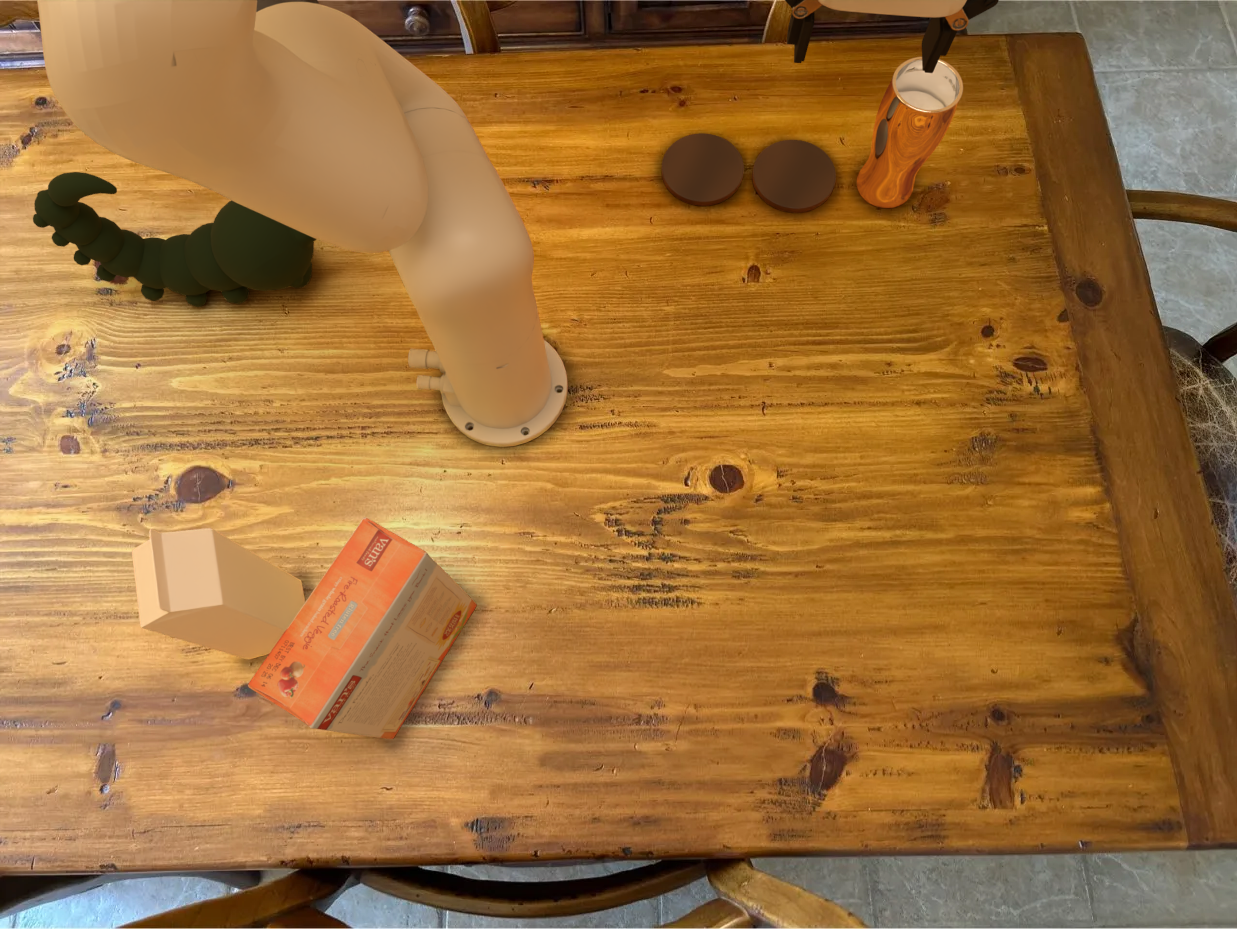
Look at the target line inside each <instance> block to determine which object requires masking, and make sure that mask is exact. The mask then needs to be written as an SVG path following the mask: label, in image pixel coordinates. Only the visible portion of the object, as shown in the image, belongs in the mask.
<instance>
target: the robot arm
mask: <svg viewBox="0 0 1237 929" xmlns="http://www.w3.org/2000/svg"><path fill="white" fill-rule="evenodd" d="M784 1H785V2H786V3H787V5H788V6H789V7H790V8H791V14H790V18H789V22H788V27H787V33H786V45H793V63H794V64H802V62H805V60H806V56H807V52H808V48H809V46H810V40H811V37H812V33H813V29H814V26H815V16H816V15H815V12H816V11H817V10H818V9H820V8H821V7H822V6H824V7H825V8H828V9H831V10H835V11H841V12H848V13H849V12H850V13H851V12H852V13H861V14H862V13H863V14H876V15H888V16H902V17H918V18H919V17H920V18H930V20H929V23H928V25H927V27H926V30H925V33H924V35H923V36H922V40H921V57H922V69H923V71H925V73H933V71H934V69H935V67H936V65H937V62H938V60H939V59H940V58H941V57H946V56H947V55H948V53H949V50H950V48H951V46H952V44H953V43H954V40H955V37H956V36H957V34H958V31H963V30H964V29H966V28H967V27H968V25H969V23H970V20H972V19H973V18H976V17H977V16H979V15H981V14H983V13H985V12H986V11H988V10H991V9H993V8H994V7H996V6H997V4H998V3H999V2H1000V0H784ZM36 2H37V9H38V16H39V25H40V26H39V27H40V36H41V44H42V54H43V61H44V67H45V73H46V77H47V80H48V83H49V86H50V89H51V91H52V93H53V95H54V97H55V99H56V100H57V102H58V104H59V106H60V107H61V108H62V110H63V111H64V112H65V115H66V116H67V117H68V118H69V120H70V121H71V122H72V123H73V124H74V125H75V126H76V127H77V128H78V129H79V130H80V132H82V133H83V134H84V135H85V136H87V137H88V138H89V139H91V141H92V142H94V143H96V144H98V145H99V146H100V147H102V148H104V149H105V150H107V151H109V152H111V153H112V154H115V155H117V156H118V157H121V158H123V159H124V160H125V159H126V160H128V161H130V162H132V163H134V164H138V165H141V166H144V167H146V168H150V169H154V170H156V171H160V172H162V173H165V174H169V175H171V176H175V177H178V178H180V179H182V180H185V181H188V182H191V183H194V184H196V185H198V186H200V187H203V188H205V189H208V190H209V191H212V192H215V193H217V194H218V195H220V196H222V197H224V198H226V199H228V200H229V201H231V200H232V201H234V202H236V203H238V204H240V205H242V206H245V207H247V208H249V209H251V210H253V211H256V212H258V213H260V214H262V215H264V216H267V217H269V218H271V219H273V220H275V221H278V222H280V223H282V224H284V225H286V226H289V227H291V228H293V229H295V230H297V231H300V232H302V233H304V234H306V235H308V236H311V237H313V238H315V239H316V241H320V242H322V243H325V244H328V245H331V246H333V247H336V248H339V249H341V250H345V251H349V252H354V253H361V254H376V253H385V252H388V253H389V255H390V258H391V260H392V263H393V265H394V266H395V269H396V271H397V273H398V275H399V278H400V280H401V282H402V284H403V287H404V289H405V291H406V293H407V295H408V297H409V300H410V301H411V303H412V305H413V307H414V309H415V310H416V313H417V315H418V317H419V319H420V321H421V324H422V326H423V328H424V330H425V332H426V334H427V337H428V338H429V340H430V342H431V344H432V346H433V348H434V350H431V349H425V348H424V349H423V348H414V347H413V348H410V349H409V351H408V353H407V354H408V355H407V363H408V367H409V368H410V369H423V370H429V369H435V370H439V371H440V373H441V376H440V377H439V376H432V375H421V374H418V375H417V377H416V389H418V390H424V391H433V390H434V391H440V394H441V401H442V404H443V407H444V410H445V412H446V414H447V416H448V418H449V419H450V421H451V423H452V424H453V425H454V427H456V428H457V430H458V431H459V432H461V433H462V434H463V435H464V436H466V437H467V438H469V439H471V440H472V441H474V442H476V443H479V444H482V445H485V446H489V447H500V448H505V447H506V448H507V447H515V446H518V445H522V444H526V443H528V442H530V441H532V440H535V439H537V438H539V437H540V436H541V435H543V434H544V433H546V432H547V431H548V430H550V428H551V427H552V426H553V425H554V424H555V423H556V421H558V419H559V417H560V416H561V414H562V413H563V409H564V407H565V404H566V402H567V398H568V391H569V386H568V385H569V384H568V383H569V382H568V376H567V371H566V370H567V369H566V367H565V364H564V362H563V360H562V358H561V356H560V354H559V353H558V352H557V351H556V349H555V348H554V347H553V346H552V345H551V344H550V342H548V341H547V340H545V338H544V335H543V328H542V324H541V318H540V314H539V308H538V305H537V300H536V295H535V290H534V284H533V272H534V268H535V267H534V266H535V253H534V247H533V243H532V240H531V237H530V234H529V232H528V230H527V227H526V225H525V222H524V221H523V218H522V216H521V215H520V212H519V210H518V209H517V207H516V204H515V203H514V201H513V199H512V197H511V195H510V193H509V191H508V190H507V188H506V186H505V183H504V181H503V179H502V178H501V177H500V174H499V172H498V171H497V169H496V167H495V166H494V165H493V163H492V162H491V160H490V158H489V156H488V154H487V152H486V150H485V148H484V147H483V144H482V143H481V140H480V139H479V137H478V135H477V133H476V130H475V129H474V127H473V126H472V124H471V122H470V121H469V119H468V117H467V116H466V114H465V112H464V110H463V109H462V108H461V106H460V105H459V103H458V102H456V101H455V100H456V99H454V98H453V97H452V96H451V95H450V94H449V93H448V92H447V91H446V90H445V89H444V88H443V87H442V86H440V85H439V84H438V83H437V82H436V81H434V80H433V79H432V78H430V77H429V76H428V75H427V74H425V73H424V72H423V71H421V70H420V69H419V68H418V67H416V66H415V65H414V64H413V63H412V62H410V61H409V60H408V59H407V58H405V57H404V56H403V55H402V54H400V53H399V52H398V51H397V50H396V49H394V48H393V47H391V46H390V44H387V43H386V42H385V41H384V40H383V39H382V38H380V37H379V36H378V35H377V34H375V33H374V32H372V31H371V30H370V29H368V27H366V26H365V25H363V24H362V23H361V22H360V21H358V20H356V19H355V18H353V17H352V16H351V15H349V14H347V13H345V12H343V11H341V10H338V9H336V8H334V7H330V6H327V5H323V4H321V3H319V4H315V3H309V2H286V3H280V4H276V5H273V6H270V7H266V8H264V9H262V10H260V11H258V12H256V9H257V0H36ZM559 391H560V392H559ZM471 428H472V429H471ZM525 433H527V434H525Z"/></svg>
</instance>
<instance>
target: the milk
mask: <svg viewBox="0 0 1237 929" xmlns="http://www.w3.org/2000/svg"><path fill="white" fill-rule="evenodd" d="M148 536H149V539H147V540H146V541H143V542H142V543H140V544H139V545H137V546H136V547H135V548H134V547H133V549H132V550H131V557H132V558H131V559H132V567H133V575H134V584H135V594H136V602H137V603H136V604H137V609H138V610H137V611H138V620H139V627H140V628H141V629H143V630H146V631H150V632H153V633H157V634H161V635H163V636H167V637H169V638H172V639H173V638H174V639H177V640H181V641H184V642H187V643H191V644H194V645H198V646H201V647H204V648H206V649H207V648H208V649H210V650H214V651H216V652H217V651H218V652H221V653H224V654H227V655H231V656H234V657H238V658H241V659H244V660H247V661H249V660H253V659H257V658H260V657H263V656H268V655H269V653H270V652H271V650H272V649H273V648H274V646H275V645H276V643H277V642H278V640H279V639H280V638H281V636H282V635H283V633H284V632H285V631H286V629H287V628H288V627H289V625H290V624H291V622H292V621H293V620H294V618H295V617H296V615H297V614H298V612H299V611H300V609H301V608H302V606H303V605H304V603H305V602H306V598H305V592H304V588H303V582H302V580H301V579H300V578H298V577H296V576H295V575H292V574H291V573H289V572H287V571H286V570H284V569H283V568H281V567H279V566H277V565H276V564H274V563H272V562H271V561H269V560H267V559H265V558H263V557H262V556H261V555H258V554H257V553H255V552H253V551H252V550H250V549H248V548H246V547H245V546H243V545H241V543H240V544H239V543H238V542H236V541H234V540H232V539H231V538H229V536H228V537H227V535H224V534H222V533H221V532H219V531H217V530H216V529H214V528H213V527H205V528H195V529H185V530H176V531H165V532H161V531H158V530H156V529H154V528H149V530H148Z"/></svg>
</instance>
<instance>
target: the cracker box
mask: <svg viewBox="0 0 1237 929" xmlns="http://www.w3.org/2000/svg"><path fill="white" fill-rule="evenodd" d="M477 606H478V604H477V603H476V602H475V600H474V599H473V598H471V596H470V595H468V593H467V592H466V591H465V590H464V589H463V588H462V587H461V586H460V585H459V584H458V583H457V582H456V581H455V580H454V579H453V578H452V577H451V576H450V575H449V574H448V573H447V572H446V571H445V570H444V569H443V568H442V567H441V565H439V563H437V561H436V560H434V559H433V558H432V557H431V555H430V554H429V553H428V552H427V551H426V550H424V549H422V548H420V547H419V546H417V545H415V544H413V543H412V542H411V541H408V540H407V539H406V538H403V537H402V536H400V535H398V534H396V533H394V532H393V531H391V530H389V529H388V528H386V527H385V526H382V525H381V524H379V523H378V522H375V521H373V520H371V518H368V517H366V516H363V518H362V519H361V520H360V522H359V523H358V525H357V526H356V528H355V529H354V530H353V532H352V533H351V535H350V536H349V537H348V538H347V541H346V542H345V543H344V545H343V547H342V548H341V550H340V551H339V553H338V554H337V555H336V557H334V560H333V561H332V563H331V564H330V566H329V567H328V569H327V570H326V572H324V575H323V576H322V577H321V578H320V580H319V582H318V583H317V585H316V586H315V587H314V588H313V590H312V592H311V593H310V595H309V596H308V598H307V599H306V600H305V603H304V605H303V606H302V608H301V609H300V611H299V612H298V614H297V615H296V617H295V618H294V620H293V621H292V622H291V624H290V625H289V627H288V628H287V629H286V631H285V632H284V633H283V635H282V636H281V638H280V639H279V640H278V642H277V643H276V645H275V646H274V648H273V649H272V650H271V652H270V653H269V654H267V655H266V657H265V659H264V660H263V662H262V663H261V665H260V666H259V668H257V671H255V673H254V675H253V677H252V678H251V679H250V680H249V682H248V684H247V687H248V688H249V689H251V691H254V692H255V693H257V694H258V695H260V696H262V697H264V698H265V699H267V701H270V703H273V704H274V705H276V706H277V707H279V708H280V709H282V710H284V711H285V712H287V713H288V714H290V715H292V716H294V717H295V718H297V719H298V720H299V721H301V722H303V723H304V724H306V725H307V726H308V727H309V728H310V729H313V730H314V729H315V730H322V731H328V732H334V733H341V734H348V735H354V736H355V735H356V736H361V737H362V736H363V737H370V738H371V737H372V738H378V739H379V738H380V739H387V740H393V739H394V738H395V737H396V735H397V734H398V732H399V731H400V729H401V727H402V726H403V724H404V722H405V721H406V719H407V718H408V717H409V715H410V713H411V712H412V710H413V708H414V707H415V705H416V704H417V702H418V700H419V699H420V698H421V696H422V694H423V693H424V691H425V689H426V687H427V686H428V684H429V683H430V681H431V680H432V678H433V676H434V675H435V673H436V671H437V670H438V669H439V667H440V665H441V663H442V662H443V660H444V659H445V657H446V656H447V654H448V653H449V651H450V649H451V648H452V646H453V645H454V643H455V641H456V639H457V638H458V636H459V635H460V633H461V632H462V630H463V629H464V627H465V626H466V624H467V622H468V620H469V619H470V617H471V615H472V614H473V613H474V611H475V609H476V607H477Z"/></svg>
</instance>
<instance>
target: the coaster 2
mask: <svg viewBox="0 0 1237 929" xmlns="http://www.w3.org/2000/svg"><path fill="white" fill-rule="evenodd" d="M751 177H752V184H753V187H754V191H755V192H756V194H757V195H758V196H759V198H760V199H761V200H762V201H763V202H765V203H766V204H767V205H768V206H770V207H772V208H774V209H776V210H779V211H782V212H785V213H791V214H792V213H793V214H794V213H797V214H799V213H806V212H809V211H812V210H815V209H817V208H818V207H820V206H822V205H823V204H824V203H825V202H826V201H827V200H828V199H829V198H830V197H831V195H832V193H833V190H834V188H835V185H836V181H837V180H836V179H837V172H836V167H835V164H834V163H833V161H832V159H831V157H830V155H829V154H827V153H826V152H825V151H824V150H823V149H822V148H821V147H819V146H817V145H815V144H813V143H811V142H808V141H805V140H801V139H784V140H779V141H777V142H774V143H771V144H770V145H768V146H766V147H765V148H764V149H763V150H762V151H761V152H760V153H759V154H758V155H757V157H756V159H755V161H754V163H753V166H752V174H751Z"/></svg>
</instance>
